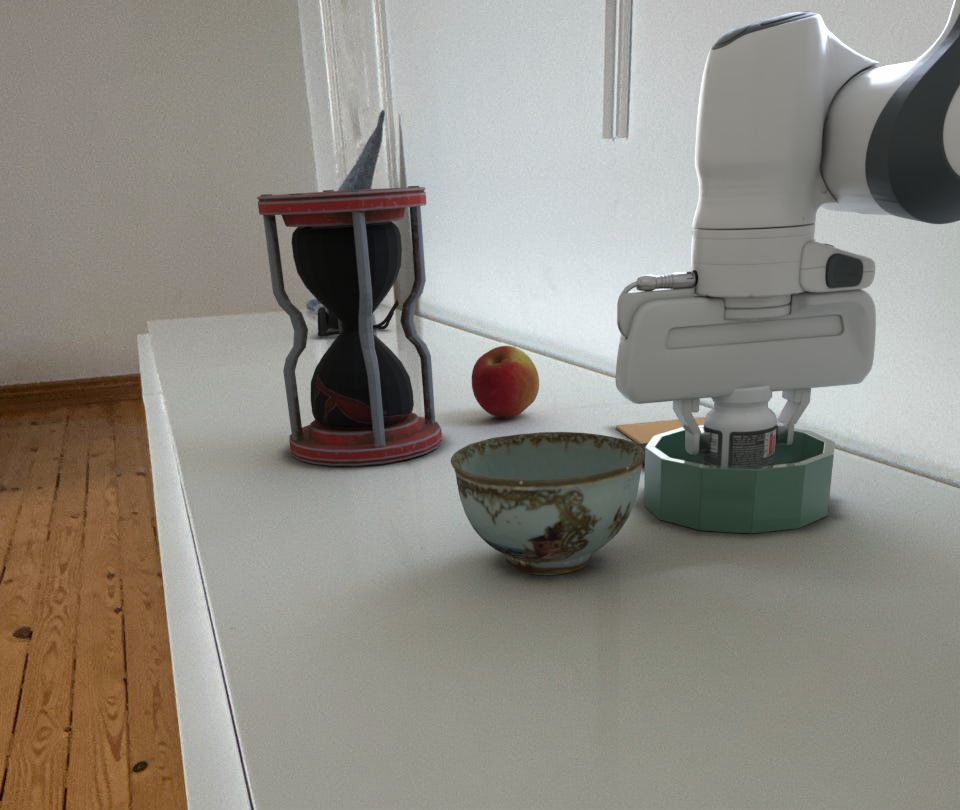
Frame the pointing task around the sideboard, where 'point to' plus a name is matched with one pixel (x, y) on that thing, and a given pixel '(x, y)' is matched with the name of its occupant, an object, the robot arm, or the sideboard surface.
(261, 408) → the sideboard surface
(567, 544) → the bowl
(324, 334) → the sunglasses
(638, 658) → the sideboard surface
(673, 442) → the green bowl
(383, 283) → the hourglass
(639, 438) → the cork coaster
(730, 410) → the pill bottle
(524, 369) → the apple
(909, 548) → the sideboard surface
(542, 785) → the sideboard surface
